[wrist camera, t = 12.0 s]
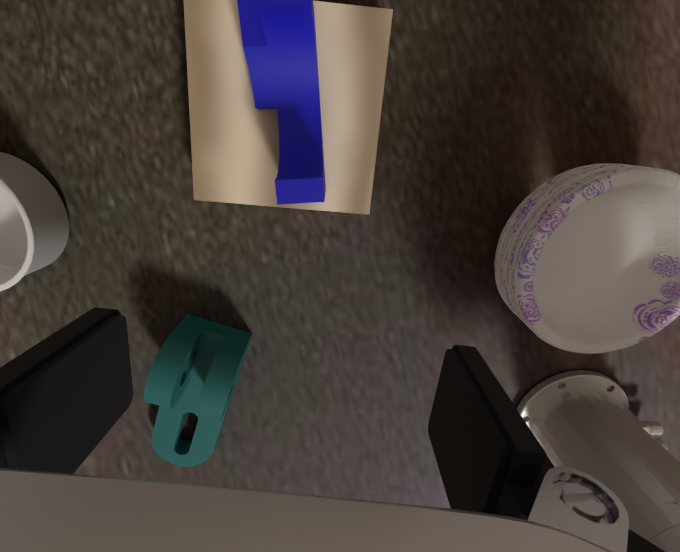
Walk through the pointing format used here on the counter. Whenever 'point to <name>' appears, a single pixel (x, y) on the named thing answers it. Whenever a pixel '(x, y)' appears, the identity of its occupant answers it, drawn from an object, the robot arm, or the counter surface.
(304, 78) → the blue stepped block
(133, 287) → the counter surface
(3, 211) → the saucepan
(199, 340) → the bracket
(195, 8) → the plate
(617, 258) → the paper bowls
